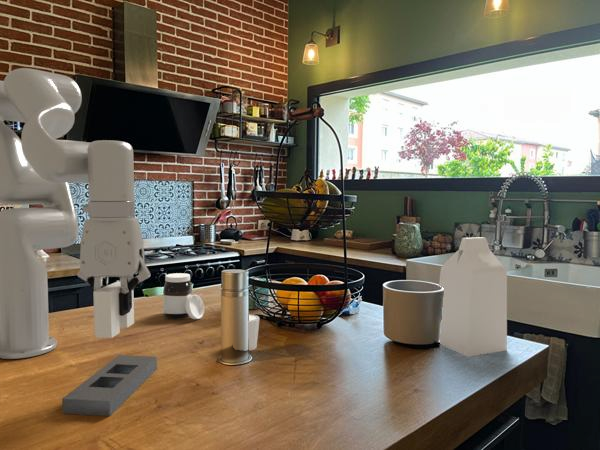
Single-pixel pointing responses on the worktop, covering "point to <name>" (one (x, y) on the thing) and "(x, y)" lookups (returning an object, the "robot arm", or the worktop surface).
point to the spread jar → (181, 298)
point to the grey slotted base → (109, 386)
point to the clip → (110, 311)
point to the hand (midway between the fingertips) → (115, 312)
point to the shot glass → (253, 331)
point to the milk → (474, 300)
